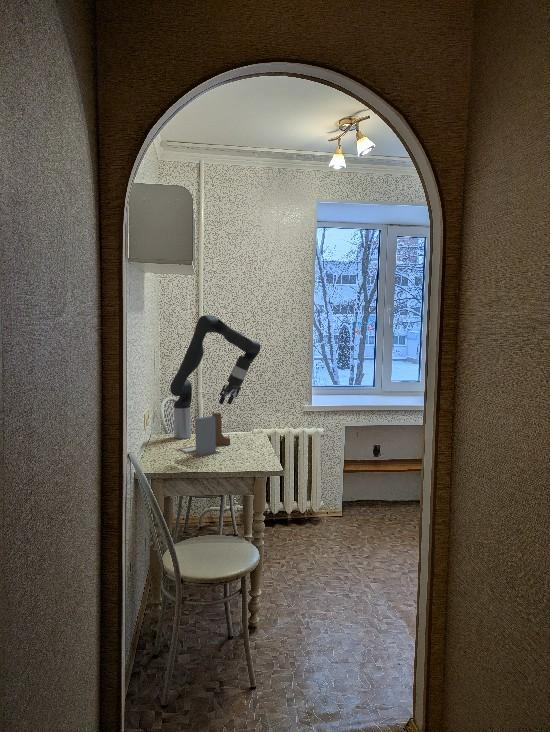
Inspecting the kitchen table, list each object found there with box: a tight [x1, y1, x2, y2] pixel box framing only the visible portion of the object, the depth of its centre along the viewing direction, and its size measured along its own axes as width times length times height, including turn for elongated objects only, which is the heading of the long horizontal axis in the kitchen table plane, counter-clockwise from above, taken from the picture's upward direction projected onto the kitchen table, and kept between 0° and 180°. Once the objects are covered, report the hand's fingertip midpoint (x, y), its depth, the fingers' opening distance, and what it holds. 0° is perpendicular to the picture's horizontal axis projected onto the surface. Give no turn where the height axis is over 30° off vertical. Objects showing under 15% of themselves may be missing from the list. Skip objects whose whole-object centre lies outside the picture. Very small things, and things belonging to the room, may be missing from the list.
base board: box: [175, 445, 222, 458], centre depth 290 cm, size 22×14×1 cm, turn 39°
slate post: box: [194, 415, 217, 456], centre depth 284 cm, size 4×9×18 cm, turn 129°
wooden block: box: [211, 412, 231, 447], centre depth 304 cm, size 9×4×18 cm, turn 100°
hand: (224, 403), depth 297 cm, fingers open, 8 cm apart
